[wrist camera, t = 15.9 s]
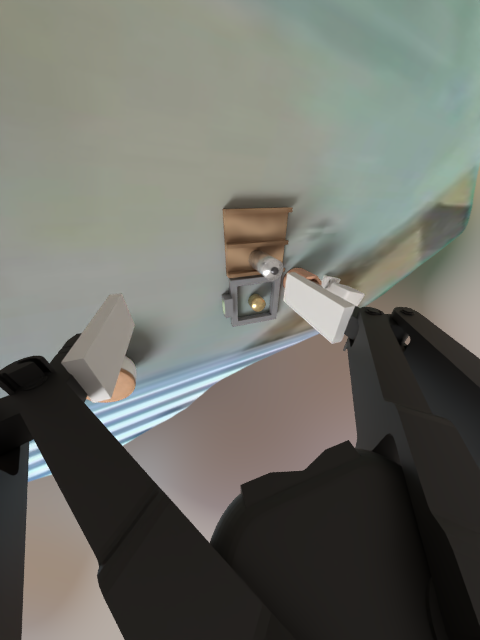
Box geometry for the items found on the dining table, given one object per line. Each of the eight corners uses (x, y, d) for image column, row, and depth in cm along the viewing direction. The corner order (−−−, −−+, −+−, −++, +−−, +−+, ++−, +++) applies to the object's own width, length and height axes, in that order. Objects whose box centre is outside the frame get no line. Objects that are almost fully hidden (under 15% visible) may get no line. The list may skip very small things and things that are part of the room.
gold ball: (248, 295, 46) (252, 300, 43) (261, 293, 46) (266, 297, 44) (248, 307, 48) (252, 312, 45) (260, 305, 48) (265, 310, 46)
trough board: (222, 208, 35) (225, 209, 33) (286, 207, 38) (292, 207, 36) (226, 274, 42) (228, 278, 40) (280, 268, 45) (284, 271, 43)
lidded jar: (145, 351, 46) (140, 379, 39) (133, 379, 50) (126, 410, 42) (95, 341, 41) (77, 372, 33) (85, 373, 44) (67, 408, 37)
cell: (248, 250, 40) (266, 261, 32) (264, 248, 41) (286, 259, 33) (248, 268, 42) (265, 282, 34) (264, 266, 43) (283, 280, 35)
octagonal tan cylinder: (284, 269, 46) (299, 278, 40) (306, 266, 47) (323, 274, 42) (281, 292, 49) (295, 303, 44) (301, 288, 51) (317, 299, 45)
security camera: (312, 297, 54) (336, 313, 46) (323, 274, 50) (351, 287, 42) (327, 299, 56) (353, 315, 48) (338, 278, 53) (368, 291, 45)
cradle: (219, 279, 42) (222, 284, 40) (277, 272, 46) (283, 276, 43) (223, 324, 49) (225, 330, 47) (273, 315, 53) (278, 320, 50)
